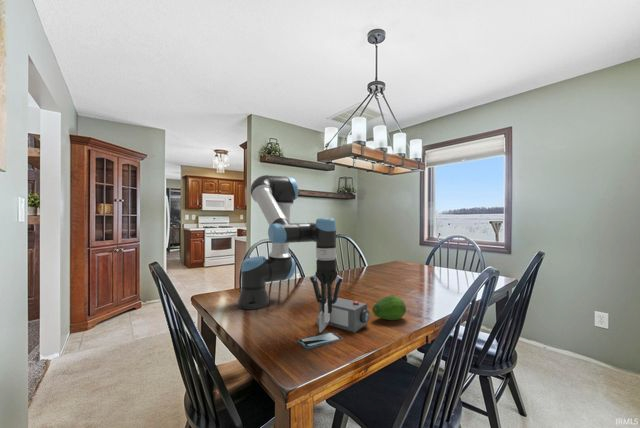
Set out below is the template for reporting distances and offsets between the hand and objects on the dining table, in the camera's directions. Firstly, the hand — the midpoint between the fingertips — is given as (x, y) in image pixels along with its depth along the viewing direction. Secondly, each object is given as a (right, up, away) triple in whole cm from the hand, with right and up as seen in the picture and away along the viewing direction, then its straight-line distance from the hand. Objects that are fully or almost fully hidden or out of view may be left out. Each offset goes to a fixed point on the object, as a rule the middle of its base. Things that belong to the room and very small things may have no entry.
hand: (327, 321), depth 106 cm
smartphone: (-3, -5, -6) cm, 8 cm away
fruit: (+27, -5, +14) cm, 31 cm away
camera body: (+7, -5, +10) cm, 13 cm away
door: (-1, -4, +3) cm, 5 cm away
